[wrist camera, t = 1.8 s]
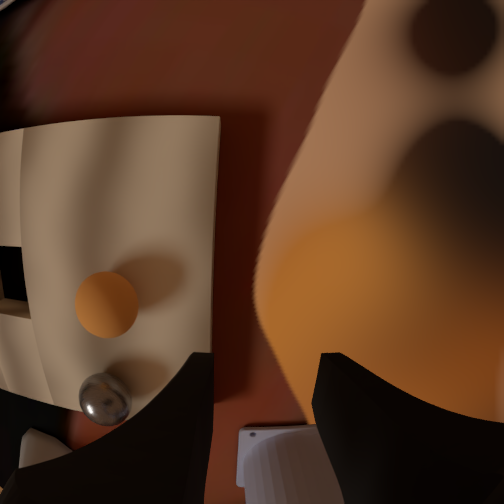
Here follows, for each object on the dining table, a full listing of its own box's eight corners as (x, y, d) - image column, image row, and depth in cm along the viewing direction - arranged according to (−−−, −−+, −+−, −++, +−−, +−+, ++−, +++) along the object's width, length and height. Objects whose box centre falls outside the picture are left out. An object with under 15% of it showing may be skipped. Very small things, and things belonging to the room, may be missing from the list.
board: (220, 125, 16) (219, 116, 14) (211, 404, 20) (210, 428, 18) (-21, 144, 15) (-43, 143, 12) (4, 369, 18) (-10, 384, 16)
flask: (24, 415, 20) (-23, 485, 10) (91, 454, 21) (59, 537, 11) (23, 451, 21) (-12, 512, 11) (81, 484, 22) (57, 553, 12)
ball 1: (144, 266, 15) (124, 285, 12) (147, 324, 16) (131, 354, 13) (88, 262, 15) (59, 280, 12) (93, 318, 15) (69, 345, 12)
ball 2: (134, 365, 16) (119, 399, 13) (140, 407, 17) (129, 441, 14) (85, 359, 16) (64, 388, 13) (94, 399, 17) (78, 431, 13)
